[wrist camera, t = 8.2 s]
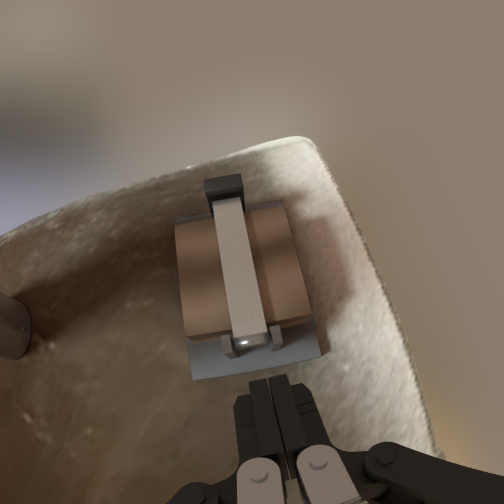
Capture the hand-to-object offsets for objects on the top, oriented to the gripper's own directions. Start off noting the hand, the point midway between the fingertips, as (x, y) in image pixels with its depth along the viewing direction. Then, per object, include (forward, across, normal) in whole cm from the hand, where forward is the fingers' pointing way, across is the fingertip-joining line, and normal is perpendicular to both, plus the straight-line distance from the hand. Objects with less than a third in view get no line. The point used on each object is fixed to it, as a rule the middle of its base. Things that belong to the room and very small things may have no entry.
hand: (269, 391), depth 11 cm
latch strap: (+19, 0, +3) cm, 19 cm away
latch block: (+24, 0, +7) cm, 25 cm away
